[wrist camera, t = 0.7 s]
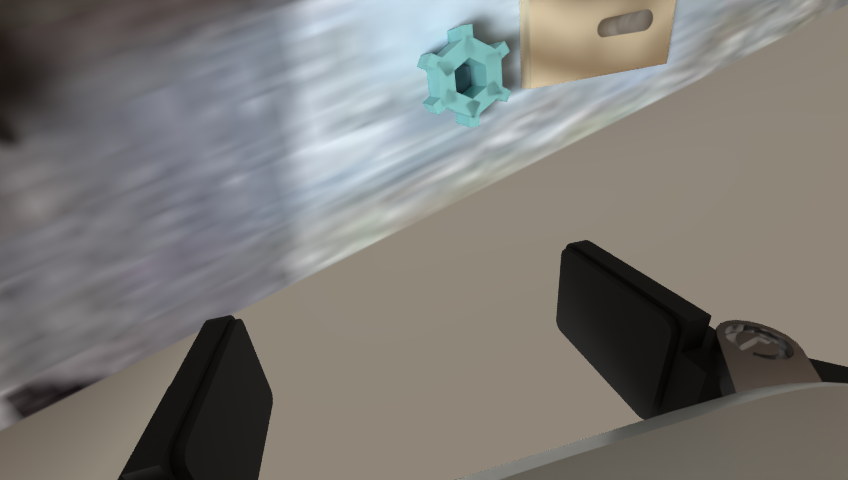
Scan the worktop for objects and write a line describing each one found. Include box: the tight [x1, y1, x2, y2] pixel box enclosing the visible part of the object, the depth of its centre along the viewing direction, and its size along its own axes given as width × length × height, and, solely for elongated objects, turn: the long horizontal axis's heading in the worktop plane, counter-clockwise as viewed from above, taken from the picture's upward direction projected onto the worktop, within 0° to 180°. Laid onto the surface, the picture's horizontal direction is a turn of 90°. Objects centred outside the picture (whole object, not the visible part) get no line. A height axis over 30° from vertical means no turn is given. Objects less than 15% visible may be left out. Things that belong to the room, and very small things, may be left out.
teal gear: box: [417, 24, 511, 127], centre depth 33 cm, size 8×8×4 cm
